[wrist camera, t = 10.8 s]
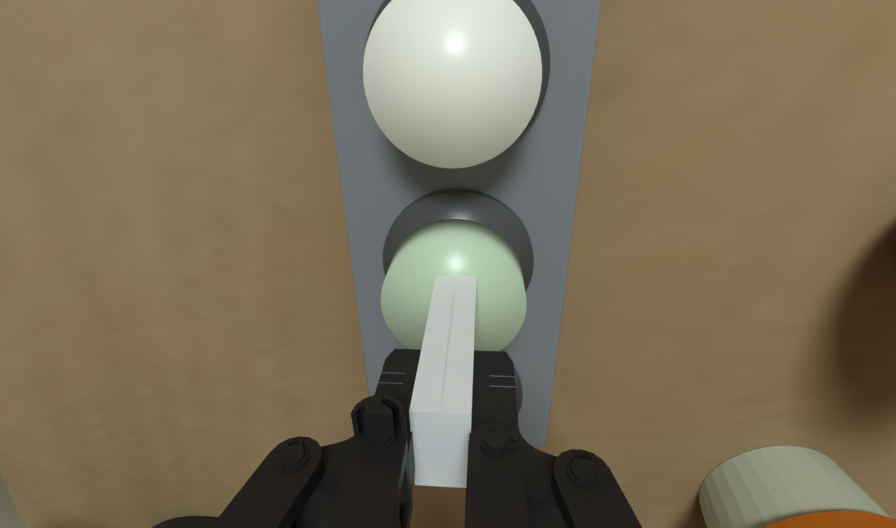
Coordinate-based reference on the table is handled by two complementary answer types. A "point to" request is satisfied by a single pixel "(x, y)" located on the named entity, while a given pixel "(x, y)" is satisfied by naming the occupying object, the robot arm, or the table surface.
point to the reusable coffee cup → (786, 493)
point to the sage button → (455, 254)
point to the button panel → (469, 187)
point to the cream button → (452, 78)
